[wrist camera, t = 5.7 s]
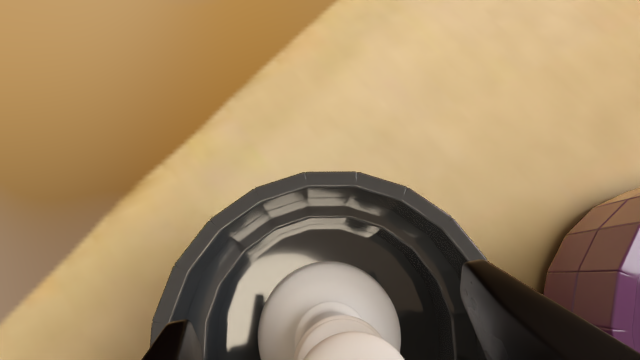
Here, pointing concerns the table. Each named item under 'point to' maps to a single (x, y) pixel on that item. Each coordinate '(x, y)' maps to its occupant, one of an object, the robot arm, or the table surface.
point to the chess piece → (329, 317)
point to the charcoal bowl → (324, 245)
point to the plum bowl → (602, 269)
